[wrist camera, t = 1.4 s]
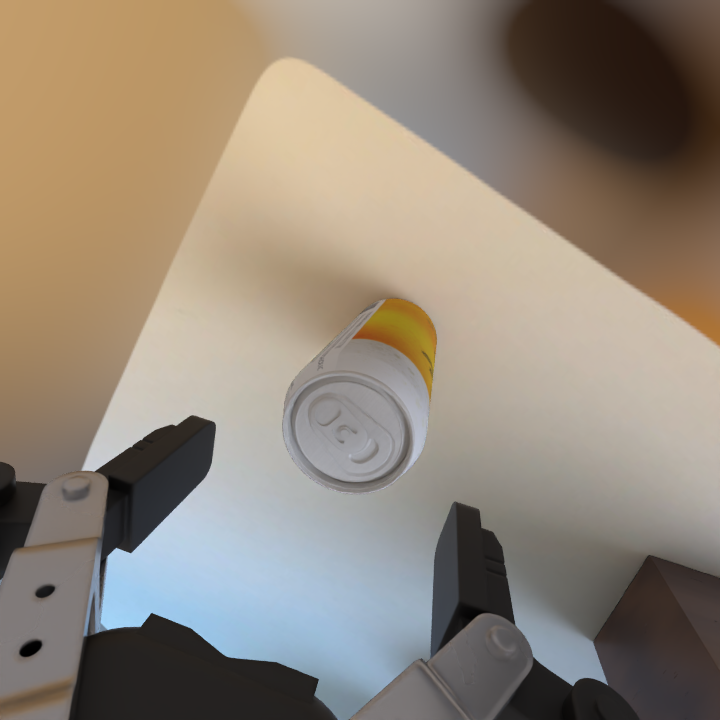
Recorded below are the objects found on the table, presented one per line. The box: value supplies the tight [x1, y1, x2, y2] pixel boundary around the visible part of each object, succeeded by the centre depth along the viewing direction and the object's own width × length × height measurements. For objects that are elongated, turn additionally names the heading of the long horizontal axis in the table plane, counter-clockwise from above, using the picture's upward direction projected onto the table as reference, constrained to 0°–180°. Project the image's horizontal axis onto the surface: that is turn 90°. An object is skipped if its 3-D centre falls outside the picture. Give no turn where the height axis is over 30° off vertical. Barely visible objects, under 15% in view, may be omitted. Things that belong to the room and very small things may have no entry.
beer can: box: [282, 298, 437, 494], centre depth 23 cm, size 6×6×15 cm
